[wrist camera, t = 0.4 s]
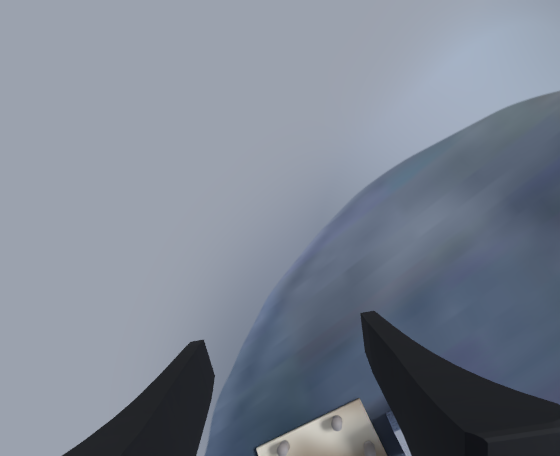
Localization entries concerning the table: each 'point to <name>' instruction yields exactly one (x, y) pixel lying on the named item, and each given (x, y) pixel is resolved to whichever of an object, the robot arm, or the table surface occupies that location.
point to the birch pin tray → (330, 436)
